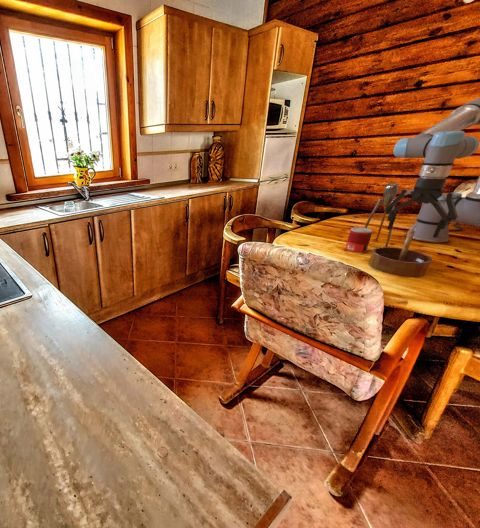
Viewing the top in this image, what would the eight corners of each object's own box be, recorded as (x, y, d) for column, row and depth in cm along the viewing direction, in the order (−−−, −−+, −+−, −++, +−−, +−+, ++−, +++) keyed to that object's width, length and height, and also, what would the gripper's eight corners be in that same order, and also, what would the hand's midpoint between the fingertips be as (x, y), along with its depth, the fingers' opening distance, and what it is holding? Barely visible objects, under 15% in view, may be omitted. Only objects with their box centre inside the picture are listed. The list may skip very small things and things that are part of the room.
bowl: (377, 257, 126) (382, 244, 123) (431, 270, 112) (438, 255, 109) (360, 267, 117) (365, 253, 115) (416, 282, 103) (423, 267, 101)
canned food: (366, 255, 128) (374, 232, 124) (345, 252, 132) (351, 230, 128) (364, 249, 134) (371, 228, 130) (344, 247, 138) (350, 226, 134)
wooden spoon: (394, 262, 119) (406, 228, 113) (408, 265, 115) (421, 230, 109) (390, 264, 116) (402, 230, 110) (404, 268, 113) (417, 233, 107)
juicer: (376, 240, 145) (396, 181, 133) (387, 247, 135) (408, 184, 123) (354, 239, 148) (371, 181, 136) (363, 246, 138) (381, 185, 126)
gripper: (385, 176, 109) (369, 227, 118) (482, 181, 90) (454, 242, 98) (392, 174, 113) (376, 224, 122) (487, 178, 94) (459, 238, 102)
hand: (411, 232), depth 110 cm, fingers open, 13 cm apart
